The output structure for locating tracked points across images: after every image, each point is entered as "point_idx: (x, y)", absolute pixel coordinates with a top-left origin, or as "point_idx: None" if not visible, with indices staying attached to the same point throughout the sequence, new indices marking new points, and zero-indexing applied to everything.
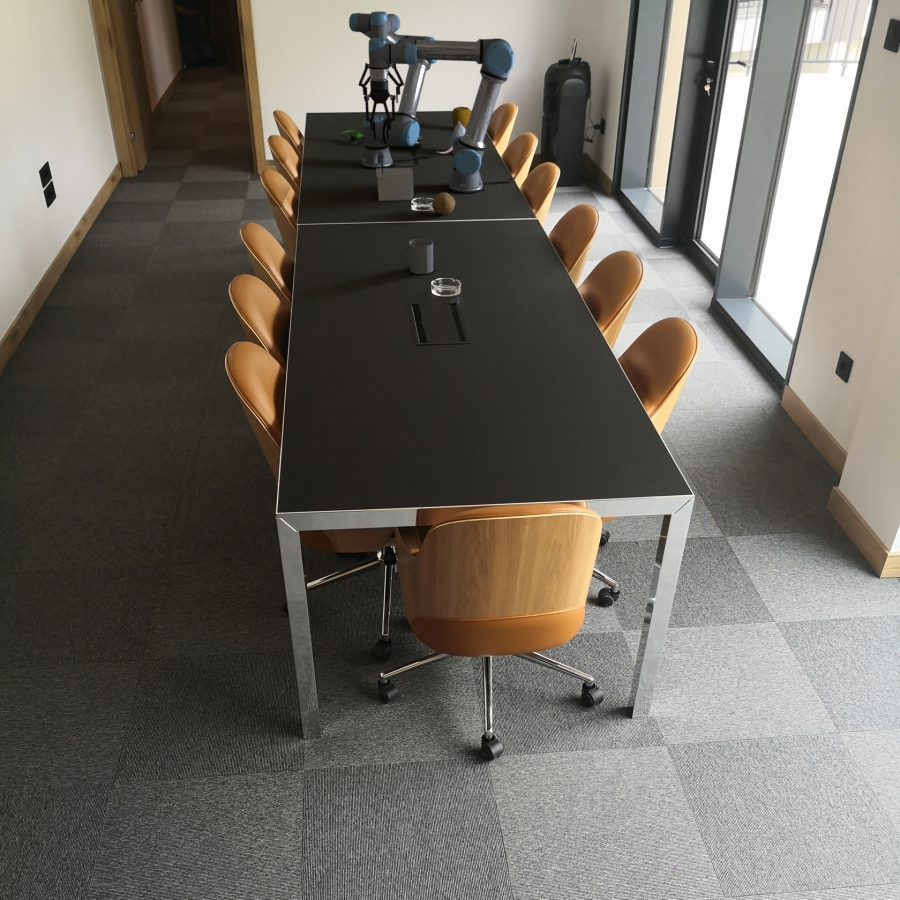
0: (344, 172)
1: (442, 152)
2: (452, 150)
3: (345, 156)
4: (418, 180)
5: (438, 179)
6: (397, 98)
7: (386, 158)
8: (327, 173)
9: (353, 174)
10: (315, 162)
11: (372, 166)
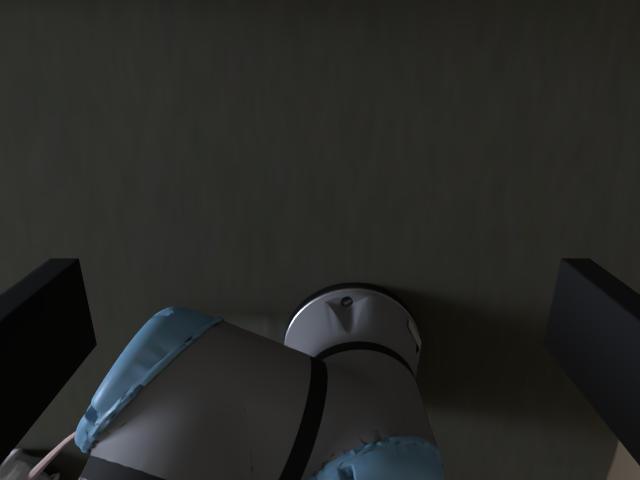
0: (503, 241)
1: (73, 434)
2: (43, 472)
3: (473, 458)
4: (152, 80)
5: (53, 93)
6: (10, 292)
7: (310, 323)
8: (581, 230)
9: (465, 207)
10: None
11: (375, 290)
